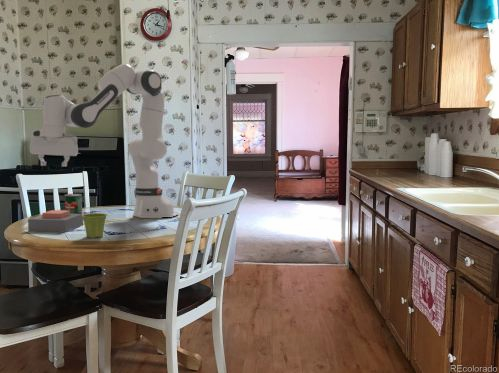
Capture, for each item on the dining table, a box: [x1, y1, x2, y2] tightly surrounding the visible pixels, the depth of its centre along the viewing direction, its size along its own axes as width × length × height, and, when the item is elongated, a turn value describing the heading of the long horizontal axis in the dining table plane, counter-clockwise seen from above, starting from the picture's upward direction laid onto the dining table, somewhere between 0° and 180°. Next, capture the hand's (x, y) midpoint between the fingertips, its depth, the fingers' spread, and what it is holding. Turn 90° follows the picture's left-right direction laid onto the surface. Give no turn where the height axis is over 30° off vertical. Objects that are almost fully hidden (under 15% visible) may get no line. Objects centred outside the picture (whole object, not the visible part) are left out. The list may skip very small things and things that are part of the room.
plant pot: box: [82, 212, 108, 239], centre depth 176 cm, size 9×9×9 cm
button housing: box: [27, 213, 84, 233], centre depth 192 cm, size 16×16×5 cm
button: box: [41, 209, 70, 218], centre depth 192 cm, size 8×8×4 cm
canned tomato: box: [64, 193, 83, 214], centre depth 220 cm, size 8×8×11 cm
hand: (53, 166), depth 190 cm, fingers open, 8 cm apart
